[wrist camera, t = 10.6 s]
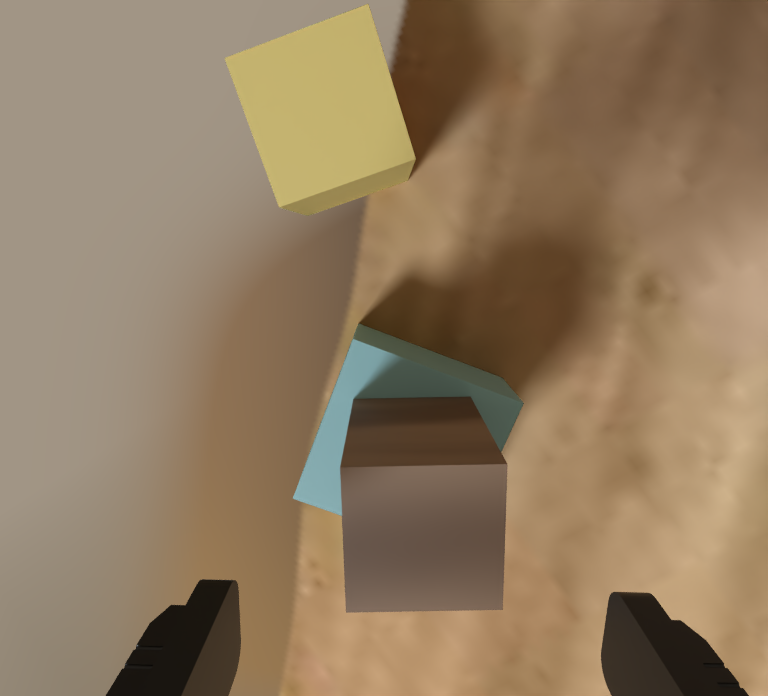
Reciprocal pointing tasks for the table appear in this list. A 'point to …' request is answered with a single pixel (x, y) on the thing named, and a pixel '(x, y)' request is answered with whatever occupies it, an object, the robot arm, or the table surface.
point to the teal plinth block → (395, 380)
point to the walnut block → (422, 507)
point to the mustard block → (324, 113)
